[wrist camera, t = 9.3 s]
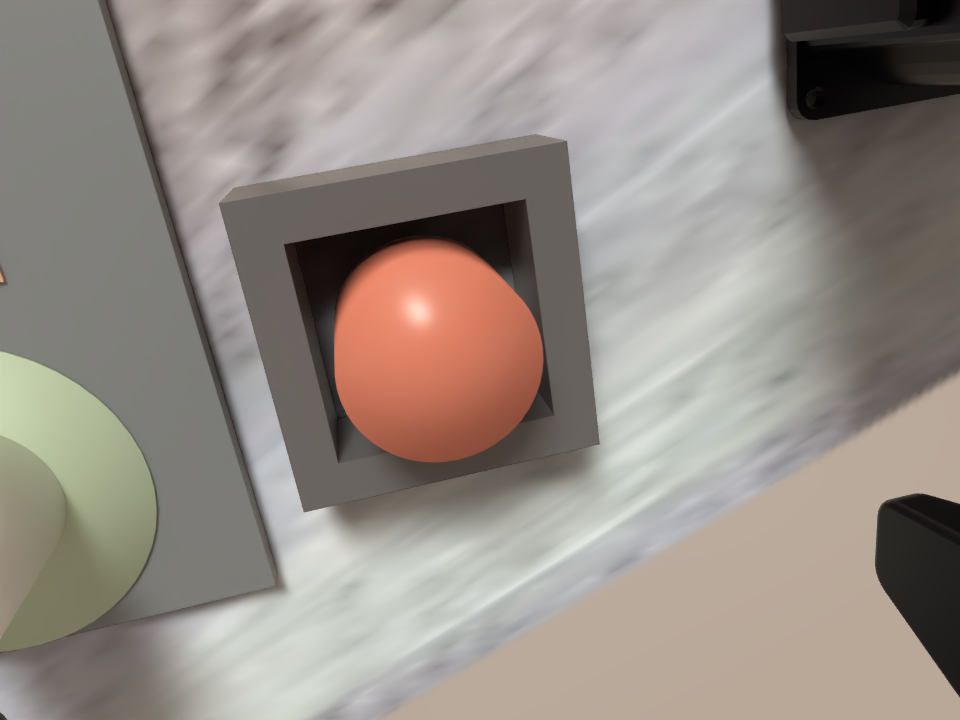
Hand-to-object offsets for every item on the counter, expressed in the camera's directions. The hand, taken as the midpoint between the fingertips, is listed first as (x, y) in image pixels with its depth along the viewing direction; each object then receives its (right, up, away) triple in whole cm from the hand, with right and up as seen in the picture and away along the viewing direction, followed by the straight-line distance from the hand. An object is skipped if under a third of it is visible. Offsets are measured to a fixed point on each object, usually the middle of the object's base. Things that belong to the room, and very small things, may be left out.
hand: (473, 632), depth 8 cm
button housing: (-1, +4, +11) cm, 12 cm away
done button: (-1, +4, +10) cm, 10 cm away
